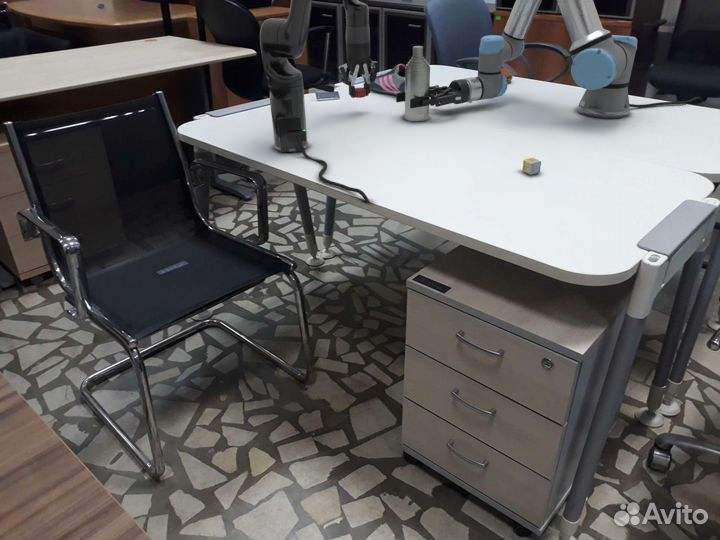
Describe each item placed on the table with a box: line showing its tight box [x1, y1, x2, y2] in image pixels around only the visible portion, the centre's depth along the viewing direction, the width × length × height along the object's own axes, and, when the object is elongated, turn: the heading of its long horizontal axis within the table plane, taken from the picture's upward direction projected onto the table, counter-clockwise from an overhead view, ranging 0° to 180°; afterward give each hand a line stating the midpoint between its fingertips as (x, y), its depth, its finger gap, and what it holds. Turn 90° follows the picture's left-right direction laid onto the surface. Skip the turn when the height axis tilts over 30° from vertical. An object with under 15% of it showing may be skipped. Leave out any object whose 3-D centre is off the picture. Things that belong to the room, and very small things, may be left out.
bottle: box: [404, 45, 431, 122], centre depth 176 cm, size 8×8×21 cm
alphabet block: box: [522, 157, 542, 175], centre depth 139 cm, size 3×3×3 cm
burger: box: [501, 67, 514, 84], centre depth 219 cm, size 10×9×5 cm
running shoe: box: [370, 63, 406, 96], centre depth 206 cm, size 9×26×11 cm, turn 45°
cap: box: [355, 87, 367, 99], centre depth 184 cm, size 4×4×2 cm
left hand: (359, 96), depth 185 cm, fingers closed on cap, 4 cm apart
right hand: (403, 100), depth 176 cm, fingers closed on bottle, 8 cm apart
